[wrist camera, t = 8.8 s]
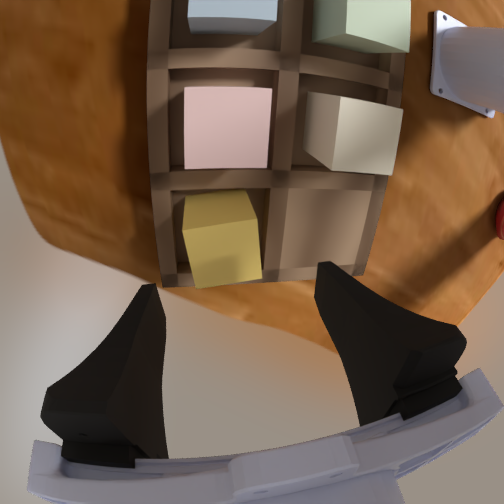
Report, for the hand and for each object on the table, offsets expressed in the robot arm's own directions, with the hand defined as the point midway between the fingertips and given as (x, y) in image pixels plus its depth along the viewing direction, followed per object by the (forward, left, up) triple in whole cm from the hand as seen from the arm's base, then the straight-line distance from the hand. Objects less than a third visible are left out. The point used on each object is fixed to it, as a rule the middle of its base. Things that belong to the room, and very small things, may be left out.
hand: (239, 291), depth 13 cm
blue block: (0, -14, -9) cm, 16 cm away
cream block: (-7, -6, -9) cm, 13 cm away
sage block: (-7, -14, -9) cm, 18 cm away
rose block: (0, -6, -9) cm, 11 cm away
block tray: (-3, -6, -10) cm, 12 cm away
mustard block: (0, +1, -9) cm, 9 cm away
